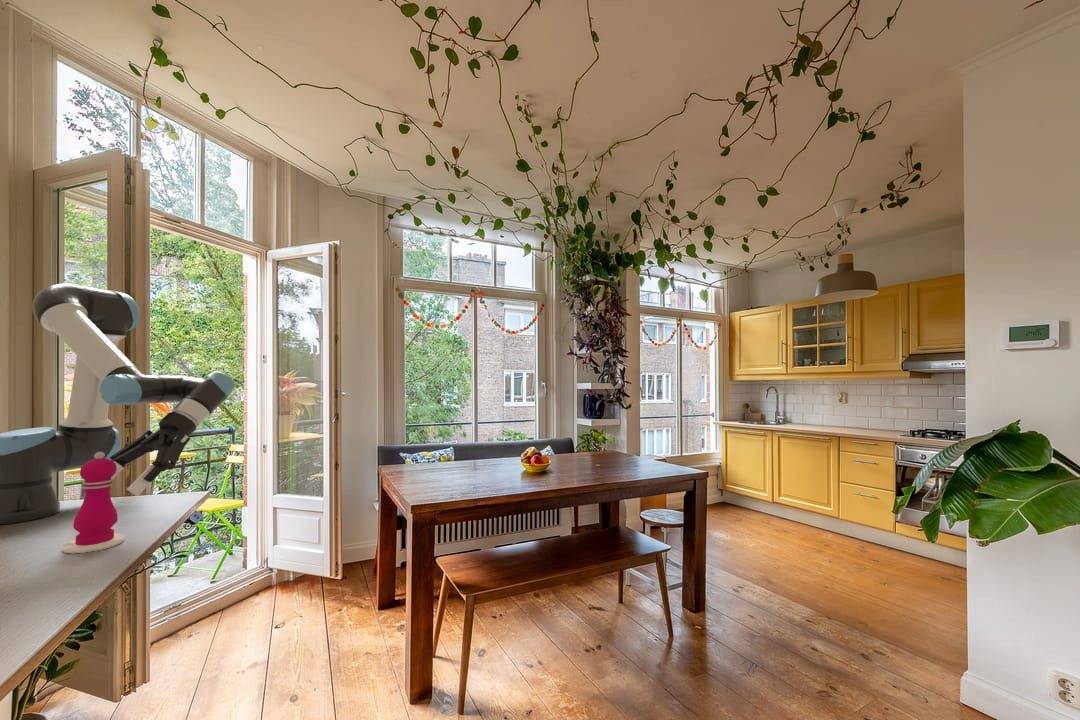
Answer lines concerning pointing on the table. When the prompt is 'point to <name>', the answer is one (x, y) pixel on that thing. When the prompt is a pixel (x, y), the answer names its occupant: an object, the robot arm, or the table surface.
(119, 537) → the cream dome
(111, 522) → the pepper mill
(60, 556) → the table surface
